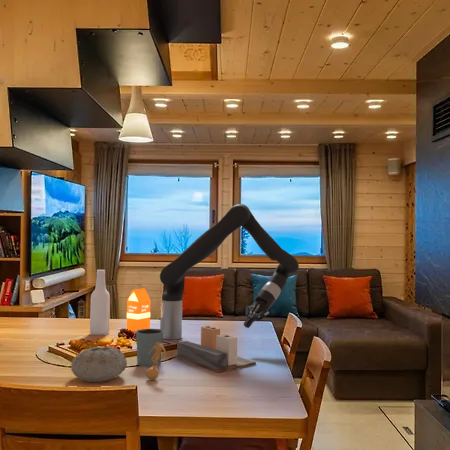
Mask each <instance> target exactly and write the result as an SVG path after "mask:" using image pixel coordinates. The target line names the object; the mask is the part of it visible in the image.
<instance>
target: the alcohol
mask: <svg viewBox="0 0 450 450" xmlns="http://www.w3.org/2000/svg"><path fill="white" fill-rule="evenodd" d="M89 309H90V311H89V312H90V319H89V334H90V335H92V336H106V335H108V334H109V332H110V317H111V315H110V313H111V312H110V311H111V310H110V309H111V296H110V292H109V291H108V290H107V287H106V269H97V270H96V279H95V288H94V290H93V291H92V293H91V295H90V308H89Z"/></svg>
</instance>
